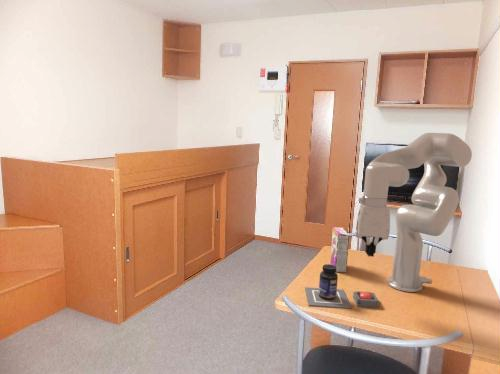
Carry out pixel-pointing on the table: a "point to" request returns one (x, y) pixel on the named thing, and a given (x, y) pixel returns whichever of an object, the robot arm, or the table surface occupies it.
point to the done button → (365, 295)
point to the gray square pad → (316, 300)
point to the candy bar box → (339, 249)
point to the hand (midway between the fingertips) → (369, 255)
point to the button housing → (365, 300)
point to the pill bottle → (328, 282)
